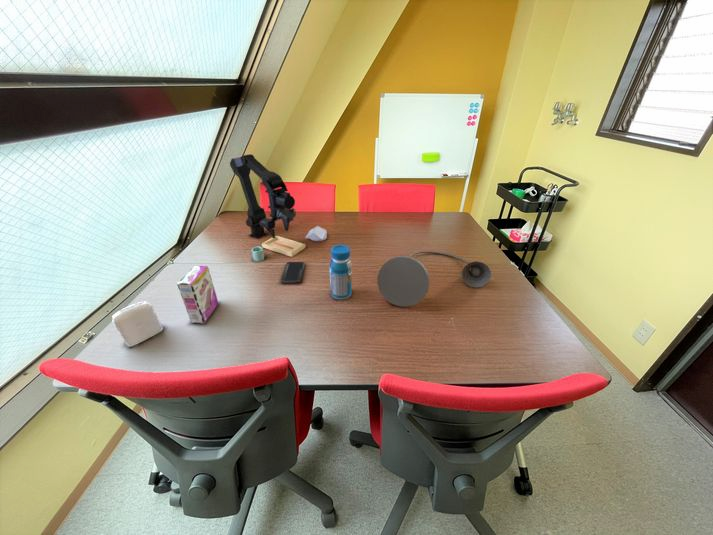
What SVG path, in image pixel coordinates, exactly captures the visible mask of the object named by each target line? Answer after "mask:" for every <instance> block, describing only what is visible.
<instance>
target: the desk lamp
mask: <svg viewBox="0 0 713 535" xmlns="http://www.w3.org/2000/svg"><path fill="white" fill-rule="evenodd" d="M418 254H435V255H436V254H437V255H443V256H448V257H452V258H455V259H458V260H461V261H463V262H464V263H467V264H466V265H464V267H463V269H462V271H461V279H462V281H463V282H464V284H466V286H469V287H470V288H482V287H484V286H486V285H488V283H489V281H490V279H491V278H492V272H491V269H490V267H489V265H488V264H486V263H484V262H482V261H477V260H475V261H471V262H470V261H469V260H467V259H465V258H463V257H460V256H457V255H453V254H449V253H446V252H440V251H430V250H429V251H428V250H422V251H416V252H412V253H410V254H409V255H407V256H406V255H398V256H394V257H392V258H390V259H387V261H386V262H384V264H382V266H381V268H380V269H379V271H378V274H377V287H378V290H379V292H380V294H381V295H382V297H383V298H384V299H385V300H386V301H387V302H389V303H390V304H391V305H395V306H397V307H404V308H405V307H406V308H409V307H412V306H415V305H417V304H418V303H421V302H422V300H424V298H425V297H426V295H427V294H428V291H429V287H430V283H431V282H430V275H429V272H428V270H427V268H426V267H425V265H424V264H423V263H422V262H421V261H420V260H418V259H417V258H414V257H412V256H414V255H418Z"/></svg>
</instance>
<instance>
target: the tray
mask: <svg viewBox="0 0 713 535" xmlns="http://www.w3.org/2000/svg"><path fill="white" fill-rule="evenodd" d="M275 242H276V243H280V244H283V245H286V246H290V247H293V249H291V248H287V247H284V246H281V245H277V244H275ZM261 247H262V248H263V249H266V250H268V251H269V250H270V251H273V252H276V253H279V254H282V255H285V256H288V257H291V258H293V257H294V256H296V255H297V254H298V253H300V252H301V251H303V250H304V249H306V243H304V242H300V241H297V240H293V239H290V238H287V237H284V236H280V235H275V238H273V237H271V238H269V239H268V240H266V241H264V242H262V243H261Z"/></svg>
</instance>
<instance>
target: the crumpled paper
mask: <svg viewBox="0 0 713 535" xmlns="http://www.w3.org/2000/svg"><path fill="white" fill-rule="evenodd" d="M327 233H328V232H327V229H325V228H322V227H320V226H319V225H316V226H315V227H314V228H312V229H311V228H310V230H309V231H308V233H307V234H306V236H305V237H304V239H310V240H311V241H314V242H323V241H324V240H326V239H328V234H327Z"/></svg>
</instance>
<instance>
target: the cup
mask: <svg viewBox="0 0 713 535" xmlns="http://www.w3.org/2000/svg"><path fill="white" fill-rule="evenodd" d="M251 253H252V260H253V261H255V262H261V261H264V259H265V254H264V253H265V252H264V248H263V247H262V246H254V247H252V248H251Z"/></svg>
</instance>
